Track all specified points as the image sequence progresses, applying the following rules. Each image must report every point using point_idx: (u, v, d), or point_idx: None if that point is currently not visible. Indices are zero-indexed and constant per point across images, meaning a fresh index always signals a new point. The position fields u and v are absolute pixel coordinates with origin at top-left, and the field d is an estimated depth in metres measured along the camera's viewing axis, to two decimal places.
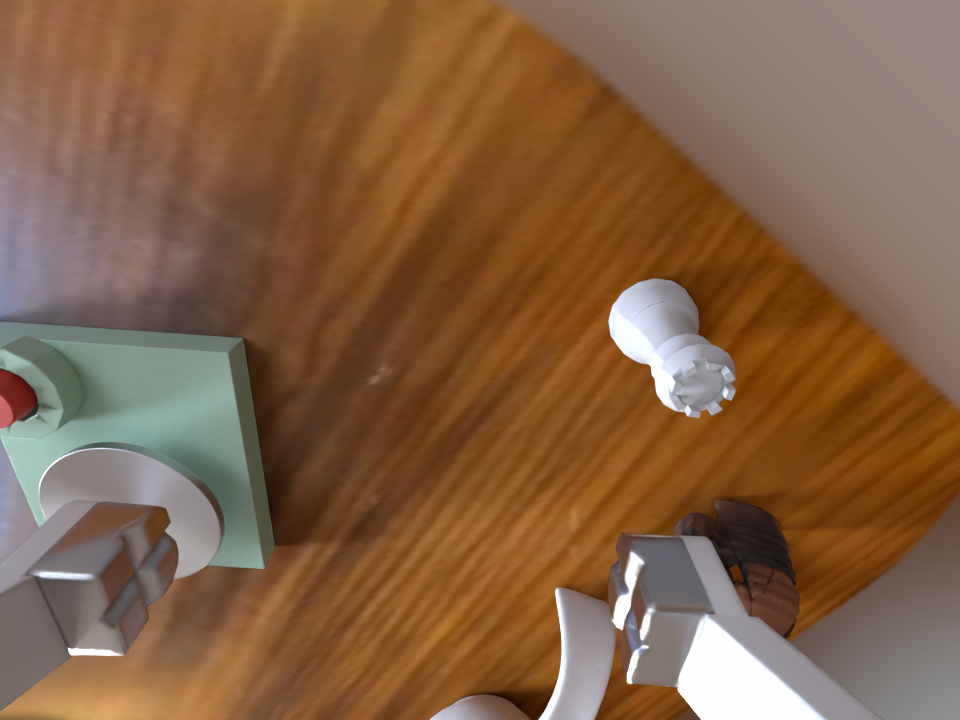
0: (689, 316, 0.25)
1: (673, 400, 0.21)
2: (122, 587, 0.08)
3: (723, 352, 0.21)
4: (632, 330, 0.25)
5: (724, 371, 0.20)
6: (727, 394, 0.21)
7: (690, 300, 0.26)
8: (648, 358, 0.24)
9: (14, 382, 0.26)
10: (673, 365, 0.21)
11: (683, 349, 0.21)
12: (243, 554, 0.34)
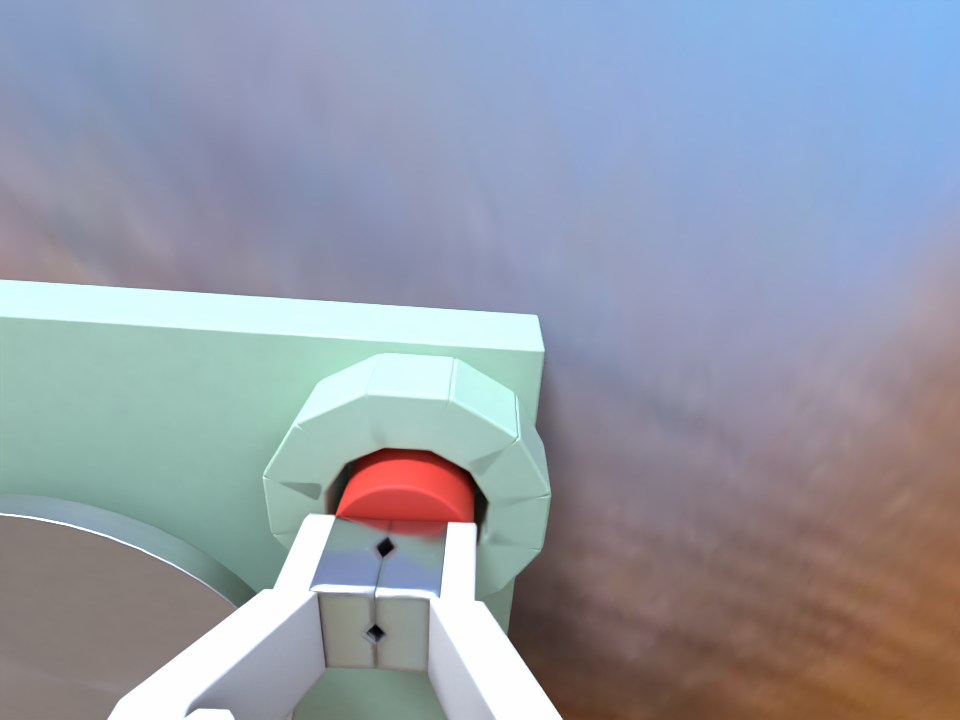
0: None
1: None
2: None
3: None
4: None
5: None
6: None
7: None
8: None
9: None
10: None
11: None
12: None
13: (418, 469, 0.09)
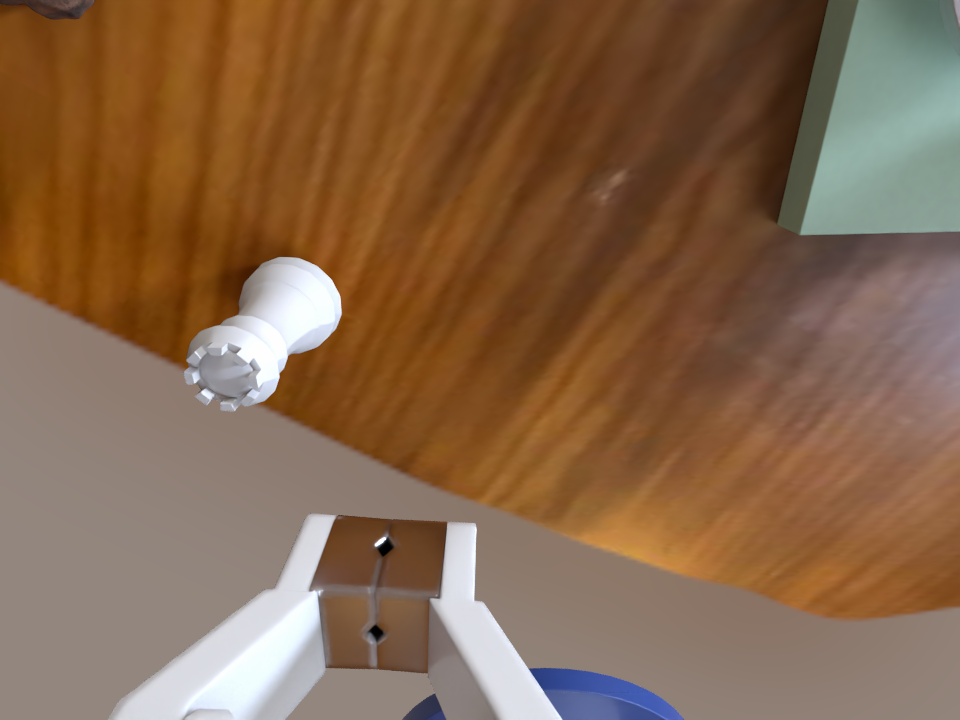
0: None
1: (248, 362, 0.18)
2: None
3: None
4: (313, 321, 0.23)
5: (210, 398, 0.18)
6: (192, 378, 0.18)
7: None
8: (287, 326, 0.21)
9: None
10: (267, 388, 0.19)
11: (264, 400, 0.19)
12: None
13: None
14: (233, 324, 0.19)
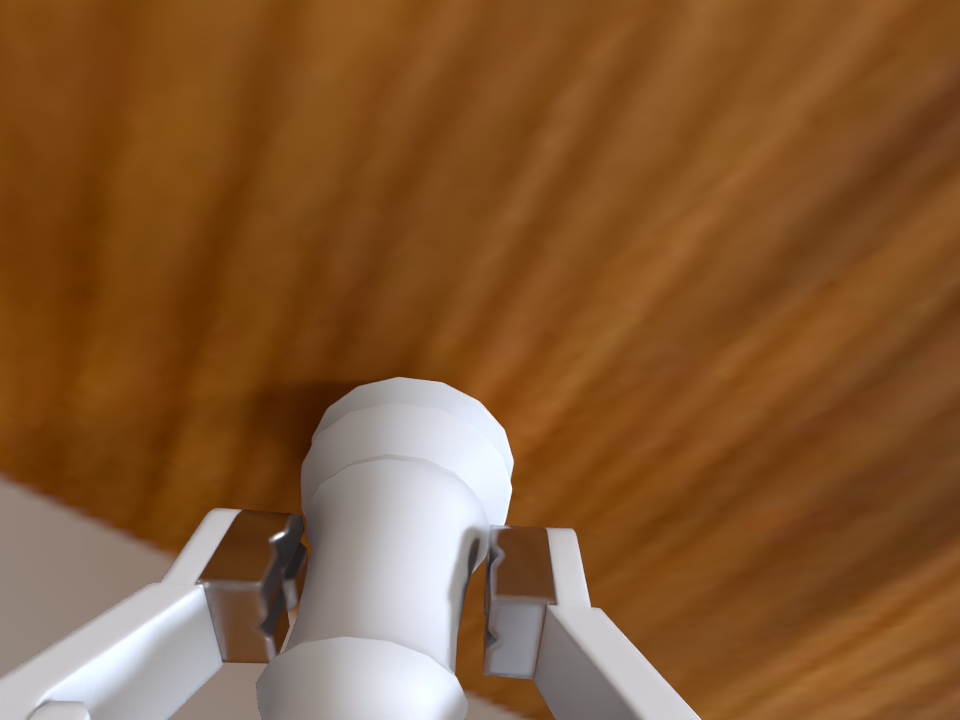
0: None
1: None
2: (275, 596, 0.08)
3: None
4: (480, 549, 0.10)
5: None
6: None
7: None
8: (453, 612, 0.08)
9: None
10: None
11: None
12: None
13: None
14: (331, 673, 0.06)
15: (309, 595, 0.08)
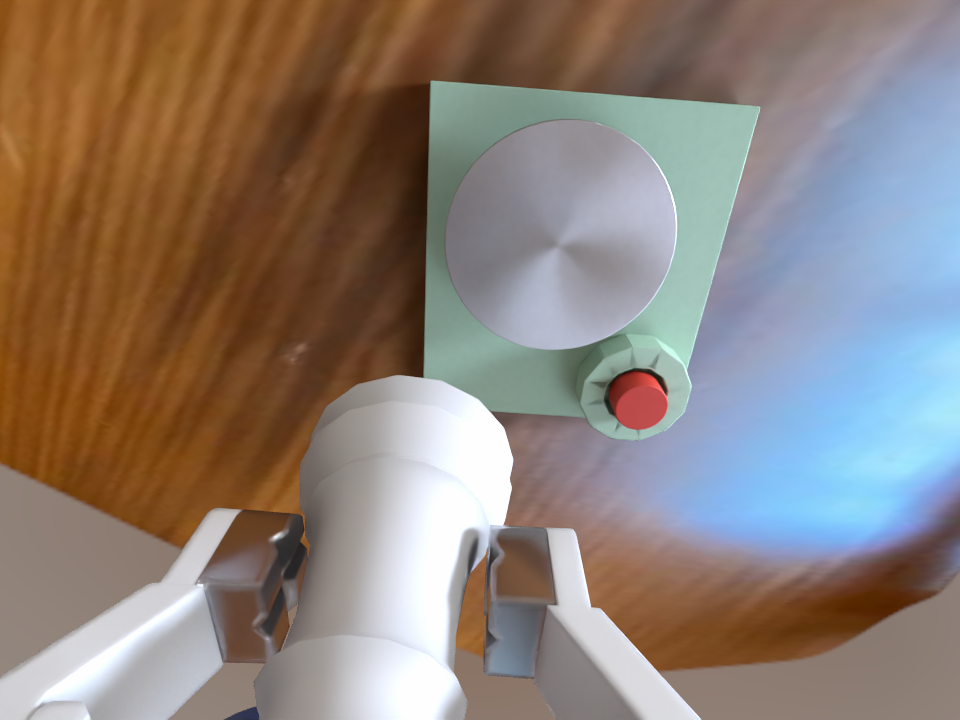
0: None
1: None
2: (275, 596, 0.08)
3: None
4: (479, 547, 0.10)
5: None
6: None
7: None
8: (452, 610, 0.08)
9: None
10: None
11: None
12: (457, 115, 0.22)
13: None
14: (330, 671, 0.06)
15: (308, 593, 0.07)
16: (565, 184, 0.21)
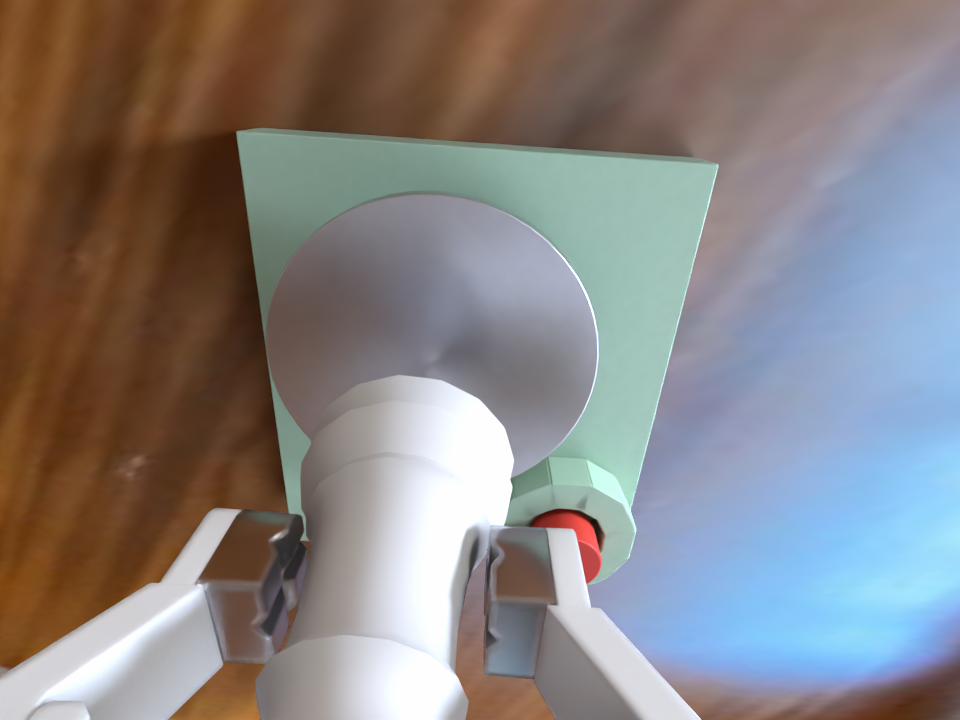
0: None
1: None
2: (275, 596, 0.08)
3: None
4: (480, 547, 0.10)
5: None
6: None
7: None
8: (453, 610, 0.08)
9: None
10: None
11: None
12: (282, 179, 0.15)
13: None
14: (331, 672, 0.06)
15: (308, 593, 0.07)
16: (430, 284, 0.15)
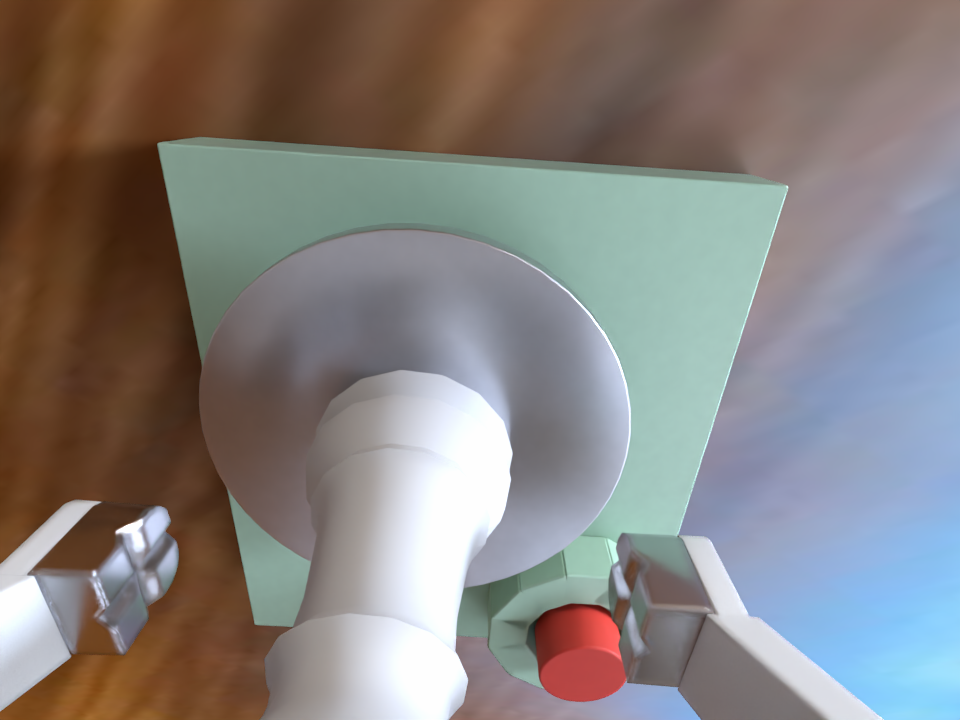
0: None
1: None
2: (122, 587, 0.08)
3: None
4: (480, 536, 0.10)
5: None
6: None
7: None
8: (453, 594, 0.08)
9: None
10: None
11: None
12: (221, 204, 0.12)
13: None
14: (337, 648, 0.06)
15: (315, 577, 0.08)
16: (411, 345, 0.11)
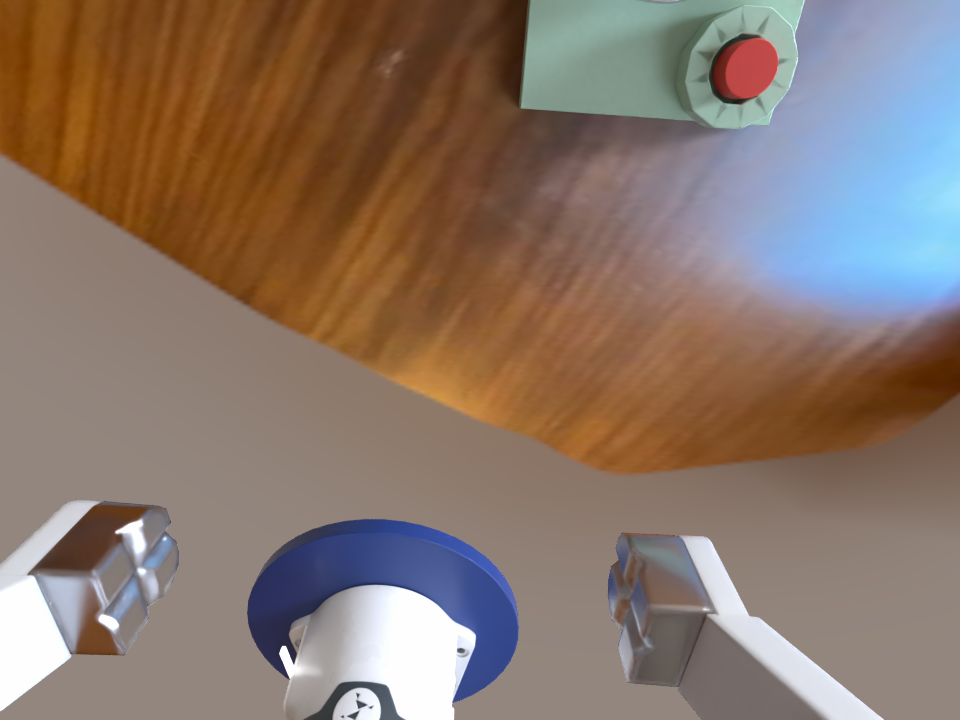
0: None
1: None
2: (122, 587, 0.08)
3: None
4: None
5: None
6: None
7: None
8: None
9: (720, 89, 0.27)
10: None
11: None
12: None
13: None
14: None
15: None
16: None
